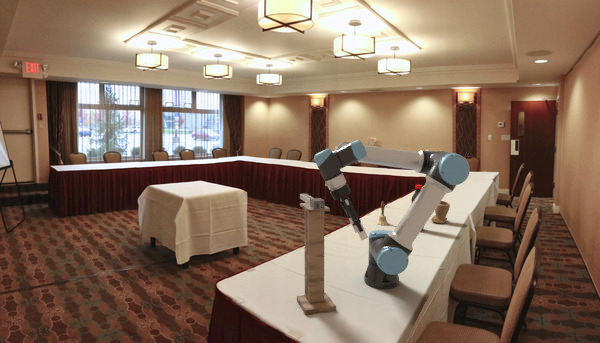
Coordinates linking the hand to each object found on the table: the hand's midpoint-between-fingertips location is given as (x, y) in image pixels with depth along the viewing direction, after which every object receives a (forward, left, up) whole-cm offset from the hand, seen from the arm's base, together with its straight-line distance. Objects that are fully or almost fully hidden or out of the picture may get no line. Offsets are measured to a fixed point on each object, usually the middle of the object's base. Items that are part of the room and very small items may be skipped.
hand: (361, 234), depth 150 cm
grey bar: (+13, -15, +13) cm, 24 cm away
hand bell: (-109, -46, -26) cm, 121 cm away
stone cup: (-139, -16, -26) cm, 142 cm away
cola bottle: (-109, -21, -26) cm, 114 cm away
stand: (+16, -12, -26) cm, 33 cm away
